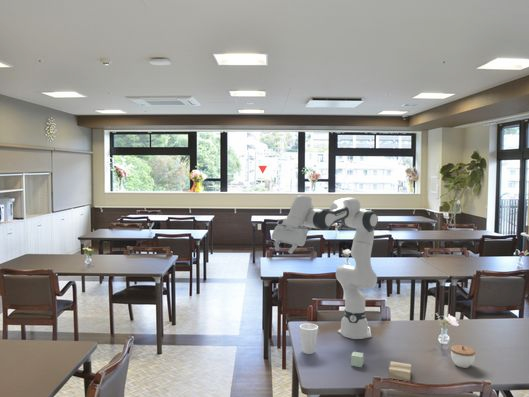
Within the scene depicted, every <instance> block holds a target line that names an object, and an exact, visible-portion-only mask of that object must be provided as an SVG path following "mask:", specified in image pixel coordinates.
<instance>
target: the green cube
mask: <svg viewBox="0 0 529 397" xmlns="http://www.w3.org/2000/svg"><path fill="white" fill-rule="evenodd" d="M350 359H351V360H350V365H351V366H352V367H358V368H363V365H364V352H359V351H358V352H357V351H353V352H352V353H351V356H350Z"/></svg>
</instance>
